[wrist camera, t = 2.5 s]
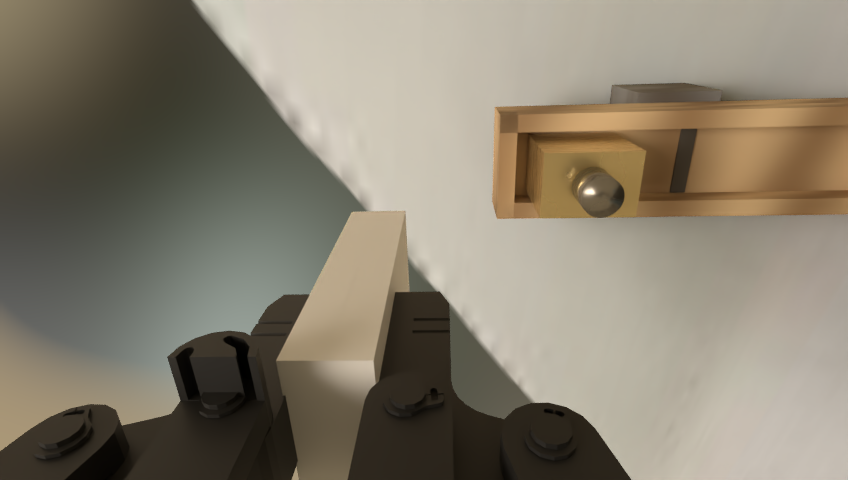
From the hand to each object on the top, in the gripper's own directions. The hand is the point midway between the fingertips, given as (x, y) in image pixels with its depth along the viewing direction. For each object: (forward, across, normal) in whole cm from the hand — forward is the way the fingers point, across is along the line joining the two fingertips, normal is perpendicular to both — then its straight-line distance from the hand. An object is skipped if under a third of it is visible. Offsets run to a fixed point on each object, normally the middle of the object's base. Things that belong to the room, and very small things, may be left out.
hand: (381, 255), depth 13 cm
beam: (+16, -14, 0) cm, 21 cm away
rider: (+11, -8, 0) cm, 13 cm away
